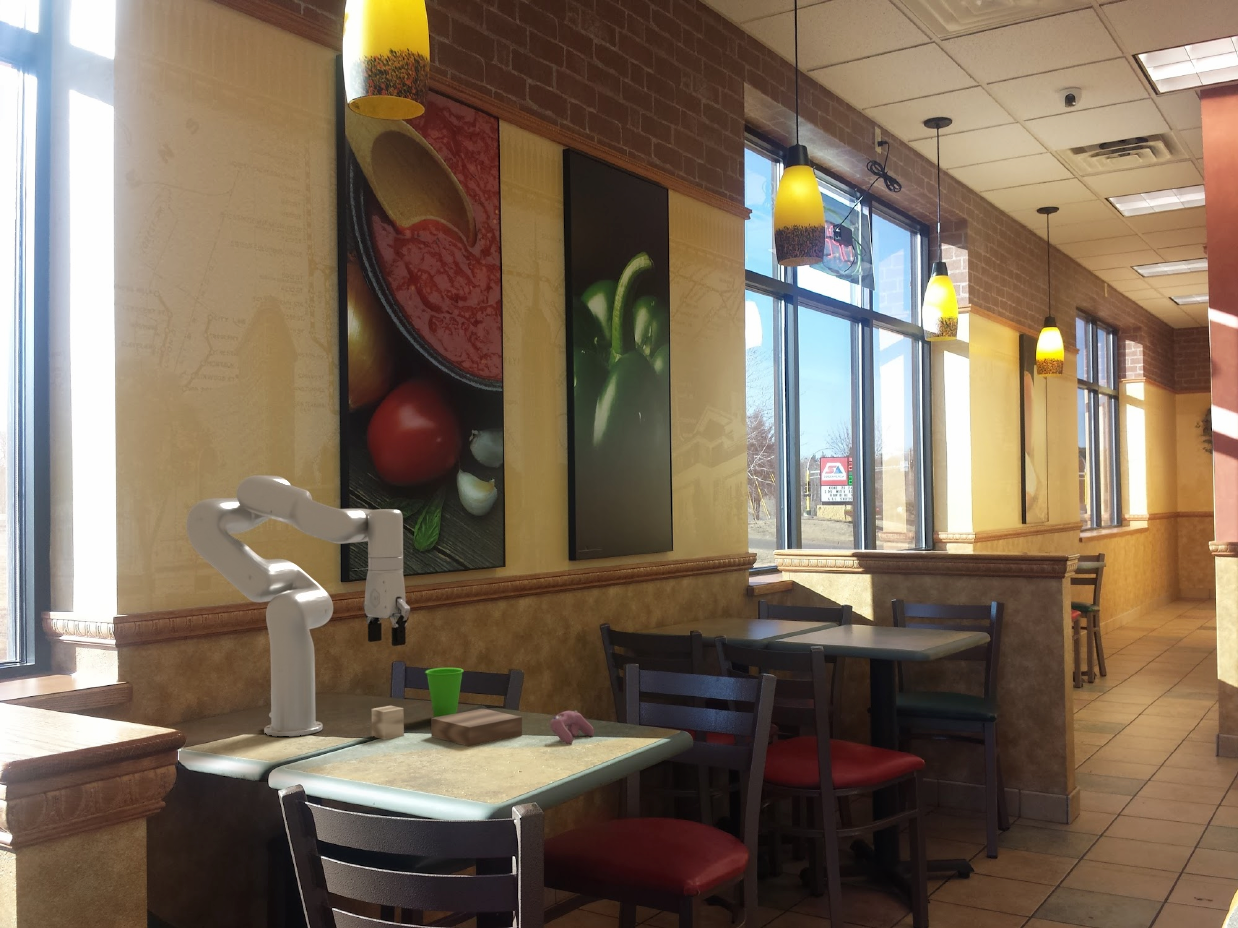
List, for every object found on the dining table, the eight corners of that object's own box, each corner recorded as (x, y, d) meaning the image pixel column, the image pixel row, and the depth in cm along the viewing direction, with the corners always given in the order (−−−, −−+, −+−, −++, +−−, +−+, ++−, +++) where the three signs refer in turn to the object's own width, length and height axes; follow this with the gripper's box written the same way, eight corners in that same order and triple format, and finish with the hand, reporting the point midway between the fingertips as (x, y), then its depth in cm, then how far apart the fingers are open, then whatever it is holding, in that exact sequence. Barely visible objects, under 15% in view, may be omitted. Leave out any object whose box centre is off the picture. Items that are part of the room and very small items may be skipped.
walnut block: (431, 736, 241) (431, 717, 241) (483, 726, 250) (483, 708, 250) (469, 746, 231) (469, 727, 231) (522, 735, 240) (521, 716, 240)
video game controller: (581, 740, 241) (568, 710, 243) (597, 733, 239) (584, 703, 241) (556, 750, 232) (543, 719, 234) (572, 742, 230) (559, 711, 232)
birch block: (371, 736, 242) (371, 708, 242) (391, 732, 246) (391, 705, 246) (384, 739, 239) (383, 711, 239) (403, 735, 242) (403, 708, 242)
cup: (457, 721, 256) (457, 673, 256) (420, 720, 257) (419, 673, 258) (469, 713, 265) (468, 667, 265) (432, 713, 266) (432, 667, 267)
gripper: (350, 564, 247) (351, 641, 246) (392, 567, 234) (393, 648, 234) (379, 562, 252) (380, 638, 251) (422, 565, 239) (423, 644, 239)
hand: (386, 643), depth 243 cm, fingers open, 9 cm apart
